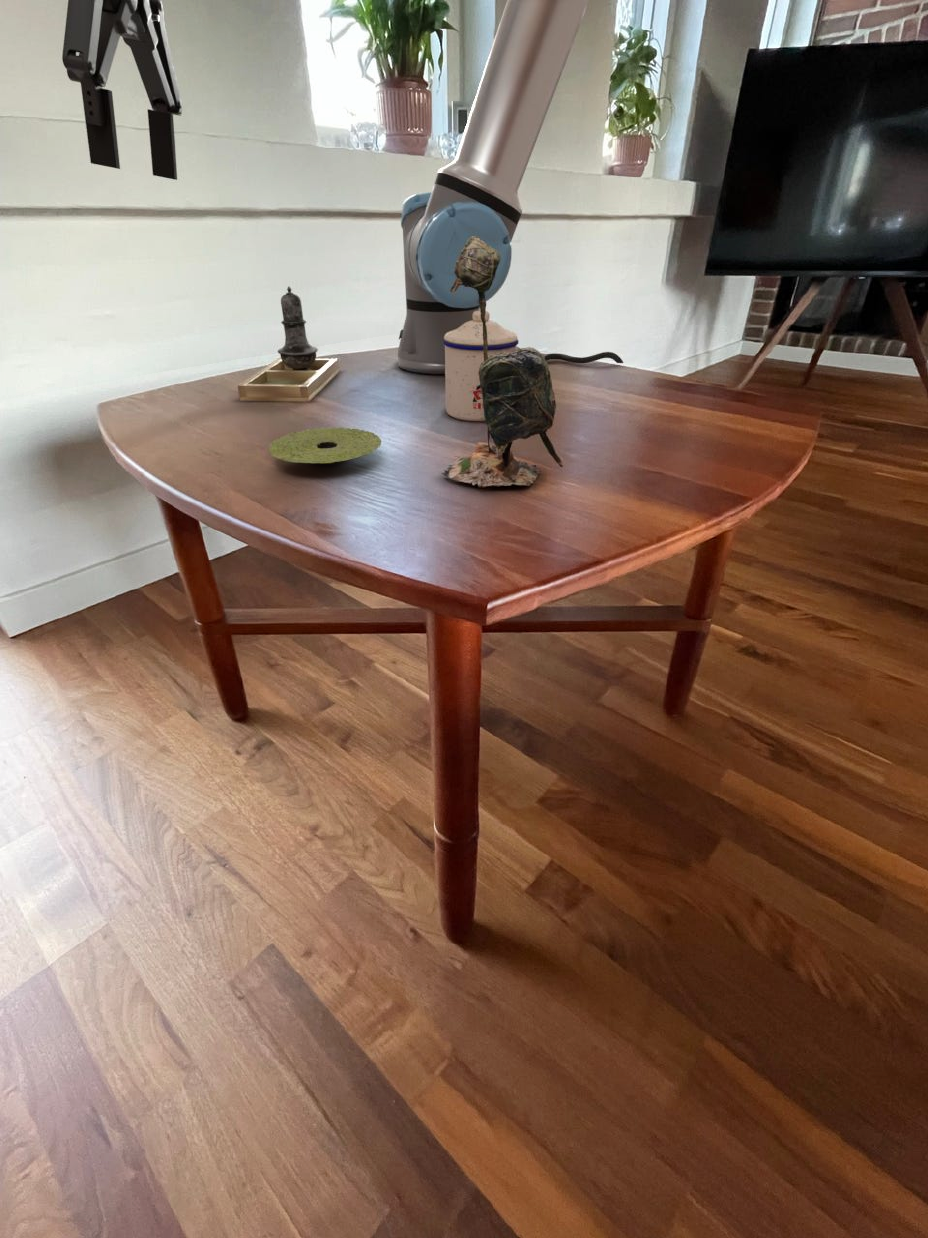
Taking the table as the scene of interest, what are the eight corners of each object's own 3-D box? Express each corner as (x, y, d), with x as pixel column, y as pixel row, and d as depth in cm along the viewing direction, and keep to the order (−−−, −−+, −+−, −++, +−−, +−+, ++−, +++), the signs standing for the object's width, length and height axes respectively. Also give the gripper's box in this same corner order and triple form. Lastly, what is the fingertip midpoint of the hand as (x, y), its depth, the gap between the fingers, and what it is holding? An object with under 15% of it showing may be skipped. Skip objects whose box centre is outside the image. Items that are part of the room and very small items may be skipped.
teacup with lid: (477, 427, 73) (478, 319, 67) (429, 411, 79) (426, 310, 72) (545, 409, 80) (552, 309, 73) (496, 395, 85) (499, 302, 79)
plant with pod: (531, 507, 54) (549, 239, 43) (429, 479, 59) (421, 235, 48) (574, 479, 59) (599, 235, 48) (477, 456, 65) (479, 232, 54)
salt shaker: (307, 368, 97) (295, 283, 91) (328, 375, 94) (318, 286, 87) (274, 374, 94) (259, 286, 87) (294, 381, 90) (281, 289, 84)
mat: (304, 491, 57) (301, 470, 56) (253, 459, 64) (250, 440, 63) (404, 463, 63) (402, 445, 62) (347, 437, 70) (345, 420, 69)
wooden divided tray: (339, 371, 98) (337, 358, 97) (309, 401, 83) (307, 386, 82) (280, 371, 98) (278, 357, 97) (240, 400, 83) (237, 385, 82)
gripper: (138, -49, 71) (156, 175, 82) (-18, -174, 49) (35, 152, 60) (204, -35, 71) (213, 186, 82) (77, -153, 50) (112, 167, 61)
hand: (137, 172), depth 71 cm, fingers open, 13 cm apart
